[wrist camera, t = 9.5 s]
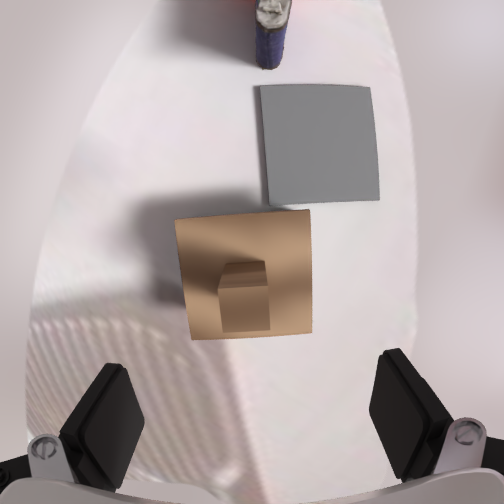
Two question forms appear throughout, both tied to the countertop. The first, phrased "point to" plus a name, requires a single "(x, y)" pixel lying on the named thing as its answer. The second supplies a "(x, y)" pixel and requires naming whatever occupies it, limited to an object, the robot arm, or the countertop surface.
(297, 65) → the countertop surface
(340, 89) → the mat
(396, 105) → the countertop surface
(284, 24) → the flask
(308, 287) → the lid
